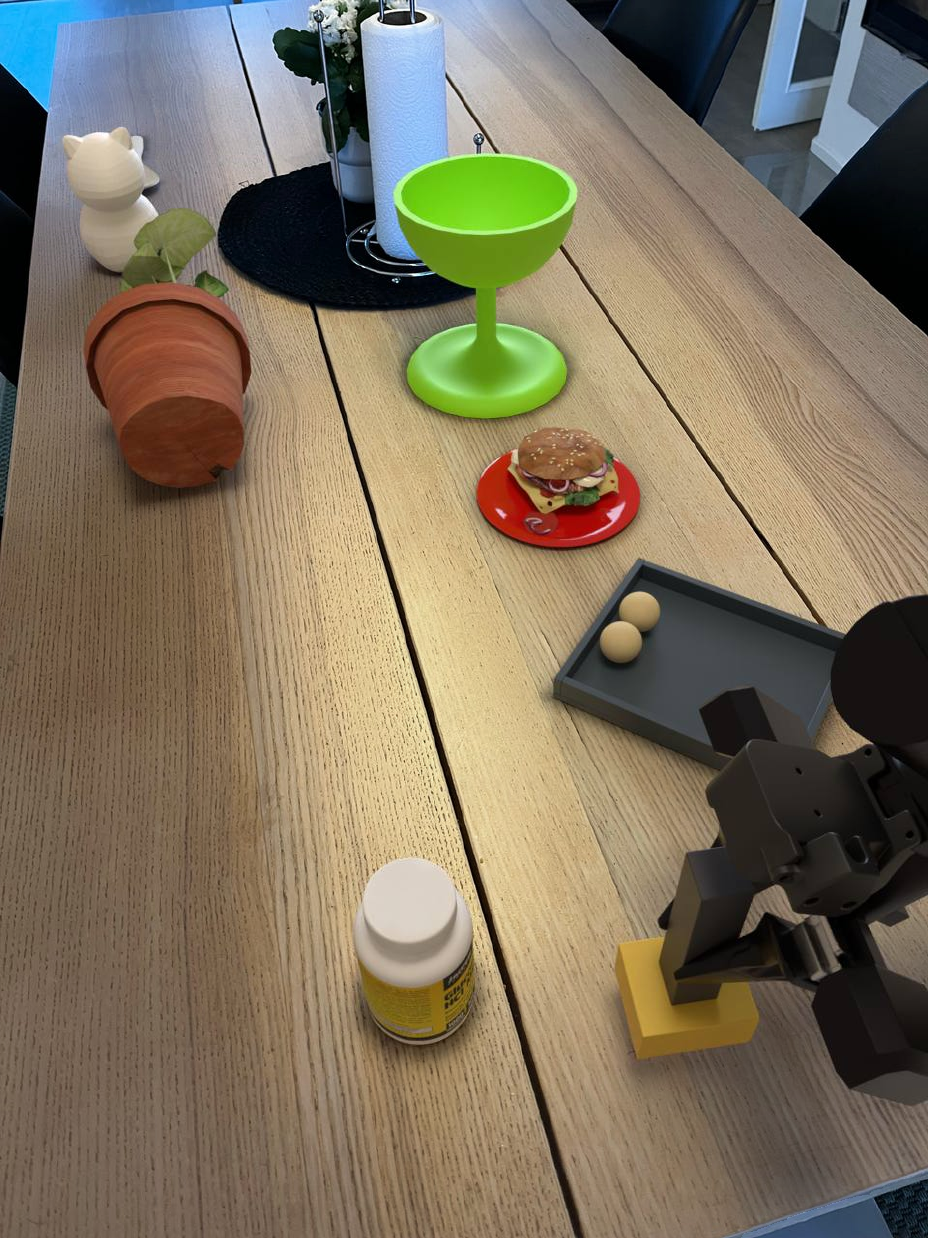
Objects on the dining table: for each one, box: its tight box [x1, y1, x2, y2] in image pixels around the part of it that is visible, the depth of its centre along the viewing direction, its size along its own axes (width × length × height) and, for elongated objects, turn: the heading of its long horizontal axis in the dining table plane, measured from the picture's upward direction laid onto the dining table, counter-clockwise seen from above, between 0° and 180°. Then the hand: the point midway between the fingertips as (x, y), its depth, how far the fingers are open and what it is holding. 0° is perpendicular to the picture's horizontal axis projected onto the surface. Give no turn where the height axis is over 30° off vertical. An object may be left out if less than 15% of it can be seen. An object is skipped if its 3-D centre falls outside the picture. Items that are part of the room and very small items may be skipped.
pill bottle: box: [352, 857, 476, 1046], centre depth 54 cm, size 6×6×11 cm
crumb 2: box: [600, 621, 642, 663], centre depth 73 cm, size 3×3×3 cm
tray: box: [552, 557, 847, 772], centre depth 73 cm, size 17×14×2 cm
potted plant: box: [83, 207, 252, 489], centre depth 95 cm, size 16×15×35 cm
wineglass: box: [392, 152, 579, 420], centre depth 95 cm, size 16×16×18 cm
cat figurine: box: [61, 126, 159, 273], centre depth 114 cm, size 9×12×15 cm
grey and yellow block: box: [613, 847, 761, 1060], centre depth 49 cm, size 6×5×14 cm
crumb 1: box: [619, 592, 660, 632], centre depth 75 cm, size 3×3×3 cm
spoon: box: [130, 135, 160, 190], centre depth 136 cm, size 4×21×2 cm, turn 17°
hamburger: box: [476, 426, 641, 548], centre depth 86 cm, size 14×14×6 cm
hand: (670, 952), depth 50 cm, fingers closed on grey and yellow block, 2 cm apart
